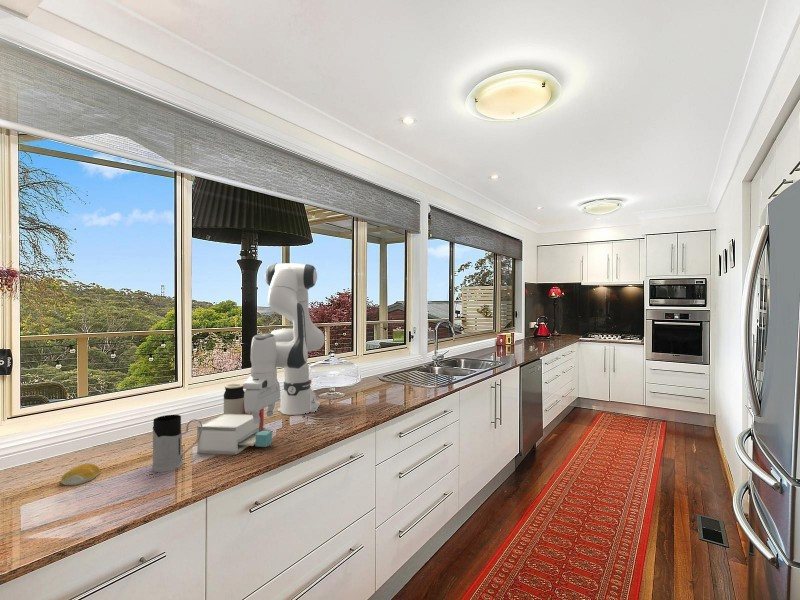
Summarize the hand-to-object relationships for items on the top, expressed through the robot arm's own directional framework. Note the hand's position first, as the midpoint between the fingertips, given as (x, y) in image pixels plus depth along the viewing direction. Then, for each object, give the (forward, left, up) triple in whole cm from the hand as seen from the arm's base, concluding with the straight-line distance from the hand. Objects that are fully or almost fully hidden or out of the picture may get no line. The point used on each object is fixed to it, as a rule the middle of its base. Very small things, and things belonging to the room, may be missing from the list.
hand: (263, 419), depth 143 cm
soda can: (-18, -13, -10) cm, 25 cm away
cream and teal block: (0, -8, -9) cm, 12 cm away
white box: (0, -13, -10) cm, 17 cm away
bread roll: (+31, -41, -10) cm, 52 cm away
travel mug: (-17, -21, -10) cm, 29 cm away
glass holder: (+18, -20, -10) cm, 29 cm away
